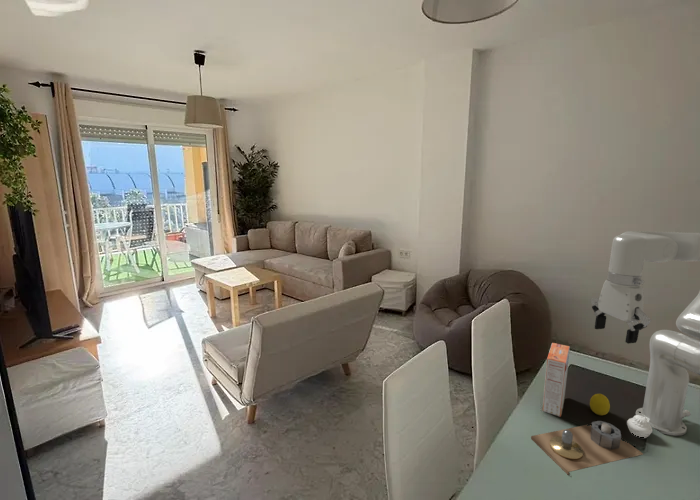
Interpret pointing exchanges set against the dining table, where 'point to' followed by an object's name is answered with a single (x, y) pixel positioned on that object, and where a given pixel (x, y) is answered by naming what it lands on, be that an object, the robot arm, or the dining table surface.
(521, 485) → the dining table surface
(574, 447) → the hub
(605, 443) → the ring
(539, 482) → the dining table surface
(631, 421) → the muffin
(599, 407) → the lemon
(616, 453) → the board
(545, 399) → the cracker box
